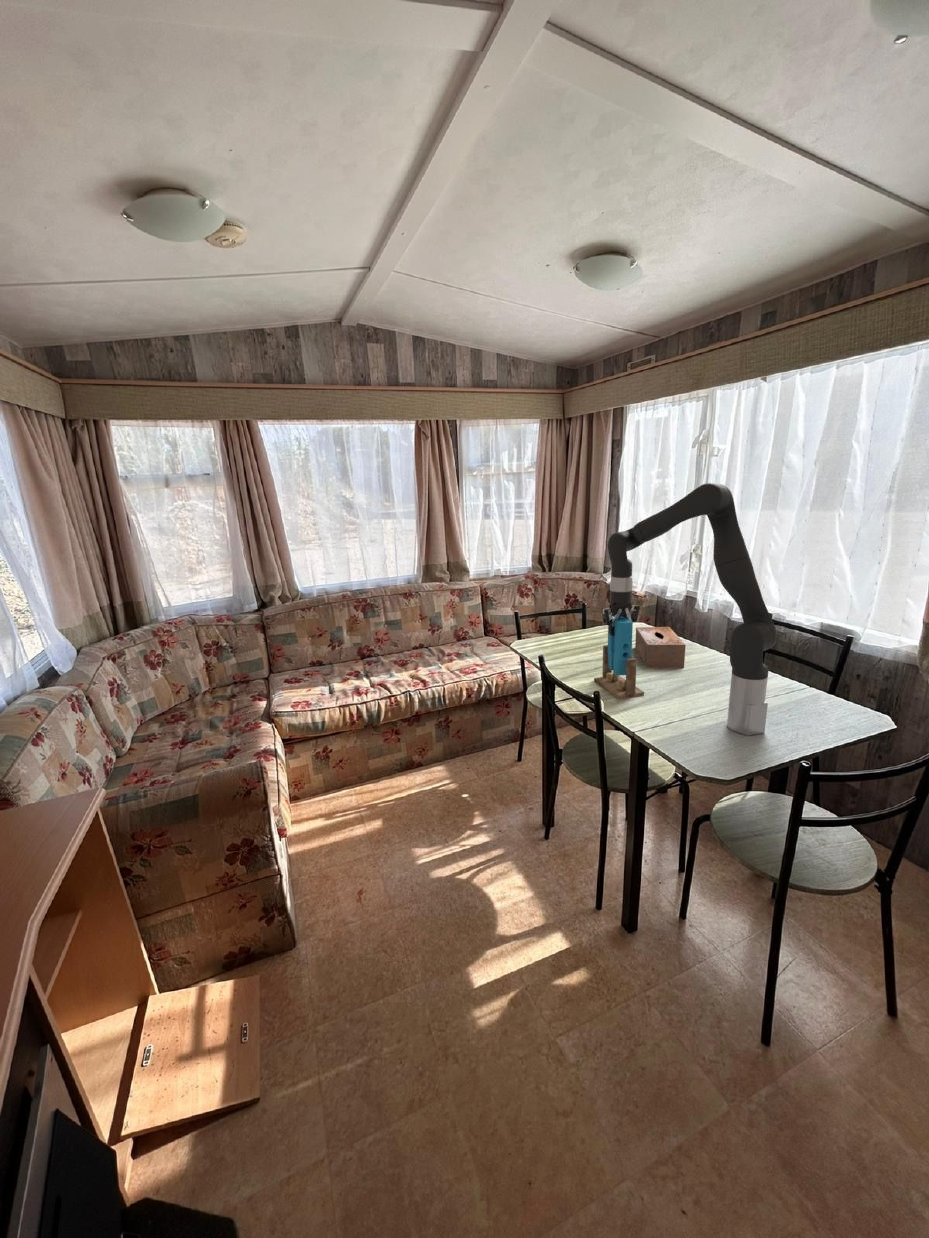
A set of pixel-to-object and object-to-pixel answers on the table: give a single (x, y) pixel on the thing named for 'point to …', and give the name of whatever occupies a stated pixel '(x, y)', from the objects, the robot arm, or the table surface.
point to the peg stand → (619, 679)
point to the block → (620, 645)
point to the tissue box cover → (660, 647)
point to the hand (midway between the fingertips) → (619, 634)
